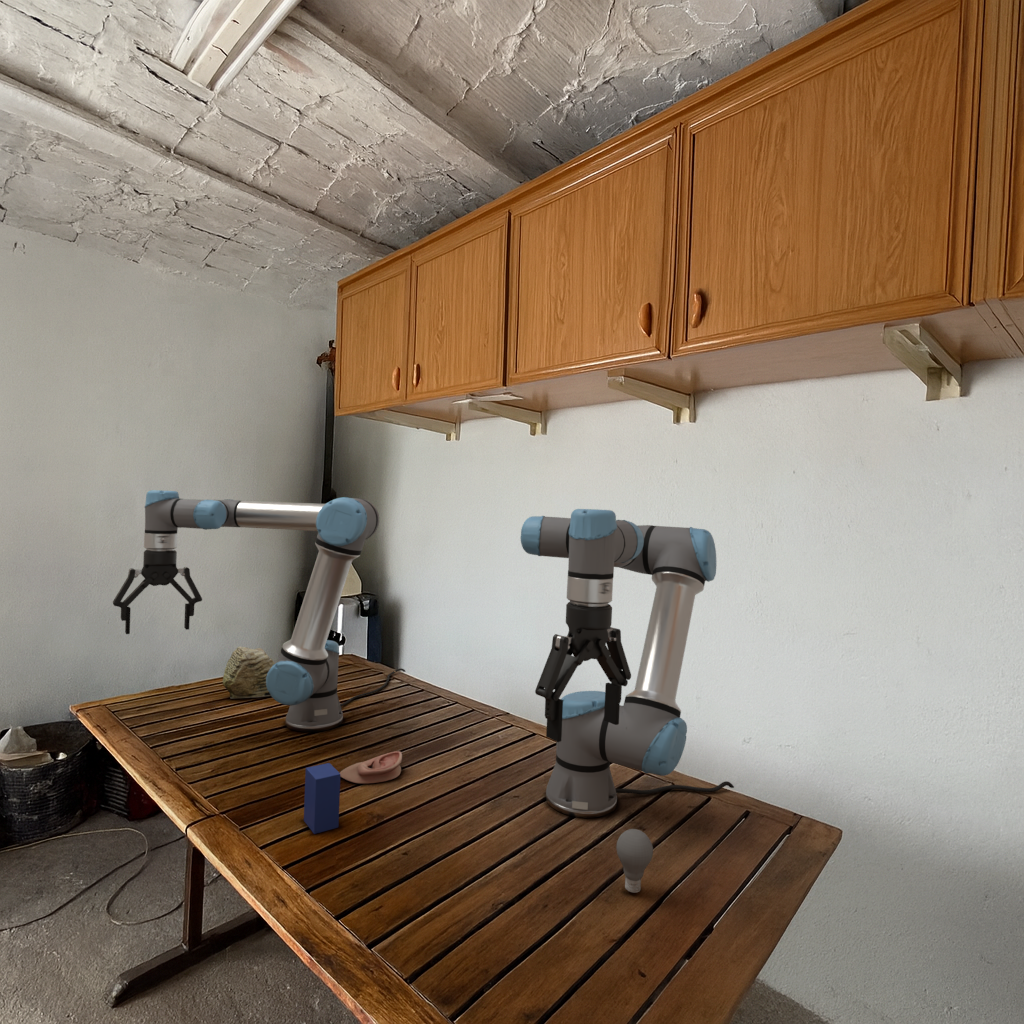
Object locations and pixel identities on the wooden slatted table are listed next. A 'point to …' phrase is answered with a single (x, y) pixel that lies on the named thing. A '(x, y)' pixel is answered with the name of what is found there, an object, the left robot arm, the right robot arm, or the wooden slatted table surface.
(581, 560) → the right robot arm
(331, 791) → the brick
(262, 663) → the fossil
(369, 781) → the anatomical model
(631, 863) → the light bulb
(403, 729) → the wooden slatted table surface
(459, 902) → the wooden slatted table surface
